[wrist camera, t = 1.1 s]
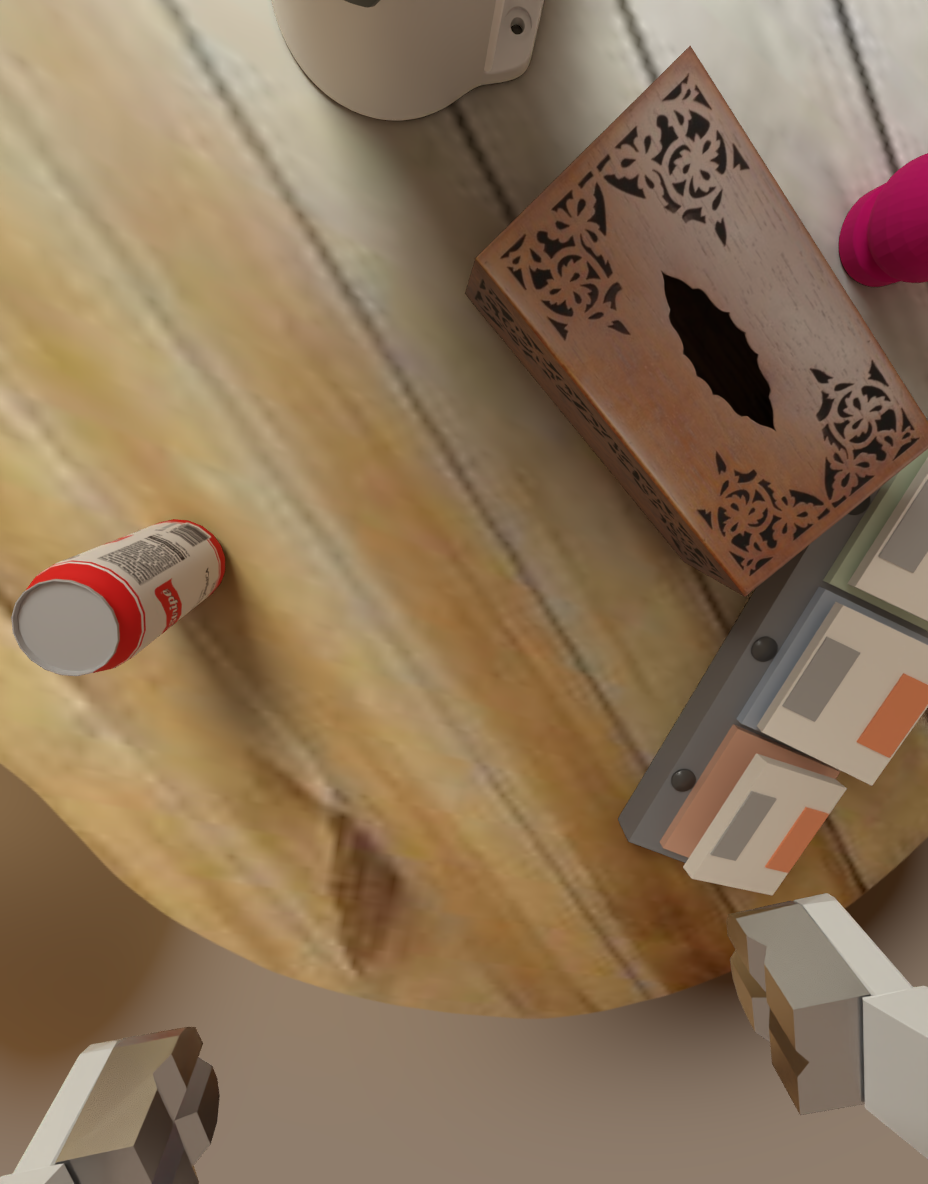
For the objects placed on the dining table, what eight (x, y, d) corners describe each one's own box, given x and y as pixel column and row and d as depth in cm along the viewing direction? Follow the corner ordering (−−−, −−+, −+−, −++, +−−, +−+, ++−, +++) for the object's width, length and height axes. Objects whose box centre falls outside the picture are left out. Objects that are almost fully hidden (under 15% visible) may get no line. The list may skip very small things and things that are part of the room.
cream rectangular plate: (835, 601, 45) (844, 605, 44) (949, 655, 44) (961, 661, 43) (756, 725, 47) (762, 733, 46) (863, 778, 47) (872, 786, 46)
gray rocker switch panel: (867, 402, 45) (905, 401, 42) (1000, 476, 48) (1047, 481, 44) (617, 819, 54) (631, 848, 51) (739, 865, 56) (760, 896, 53)
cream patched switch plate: (756, 753, 46) (768, 764, 45) (835, 778, 49) (848, 789, 48) (682, 866, 48) (692, 880, 47) (762, 884, 52) (773, 896, 50)
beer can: (244, 545, 46) (151, 610, 30) (206, 612, 47) (98, 707, 32) (166, 500, 45) (28, 544, 29) (129, 571, 46) (-21, 648, 31)
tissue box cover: (833, 434, 46) (939, 439, 37) (682, 560, 48) (745, 596, 39) (627, 134, 40) (690, 45, 30) (464, 294, 42) (475, 258, 33)
